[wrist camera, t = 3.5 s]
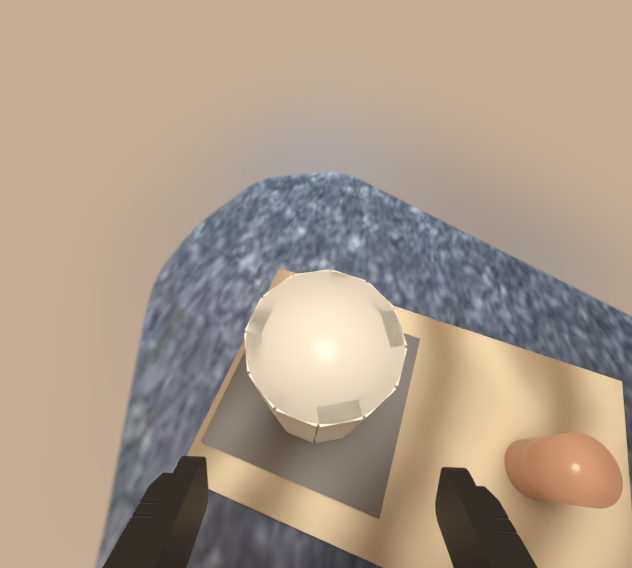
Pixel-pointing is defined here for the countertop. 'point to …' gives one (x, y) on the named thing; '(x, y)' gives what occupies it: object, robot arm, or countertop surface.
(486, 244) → the countertop surface
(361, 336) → the cover cup
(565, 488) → the peach rounded knob
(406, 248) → the countertop surface
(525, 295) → the countertop surface
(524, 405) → the board
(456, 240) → the countertop surface
